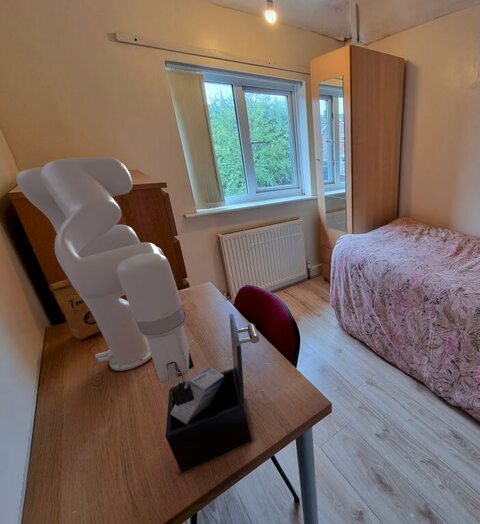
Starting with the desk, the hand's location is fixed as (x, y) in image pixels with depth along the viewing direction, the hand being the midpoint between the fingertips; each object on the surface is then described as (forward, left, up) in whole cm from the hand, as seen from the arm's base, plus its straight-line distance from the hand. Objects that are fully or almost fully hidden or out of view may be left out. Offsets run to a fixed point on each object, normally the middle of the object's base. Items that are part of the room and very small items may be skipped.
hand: (185, 384), depth 61 cm
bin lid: (+10, 0, +3) cm, 11 cm away
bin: (+3, 0, -17) cm, 17 cm away
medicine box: (-1, 0, -8) cm, 8 cm away
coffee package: (-34, +65, -17) cm, 75 cm away
